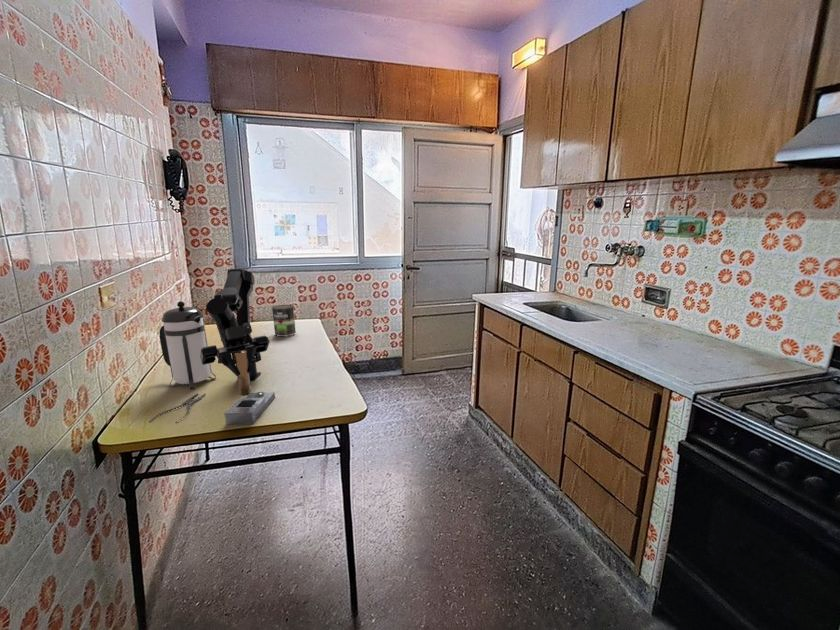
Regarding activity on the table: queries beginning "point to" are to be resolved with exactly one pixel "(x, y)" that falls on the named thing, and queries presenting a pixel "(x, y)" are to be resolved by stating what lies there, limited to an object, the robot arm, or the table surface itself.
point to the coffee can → (284, 320)
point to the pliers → (189, 402)
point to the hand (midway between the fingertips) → (244, 374)
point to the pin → (242, 372)
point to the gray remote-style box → (248, 408)
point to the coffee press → (184, 344)
